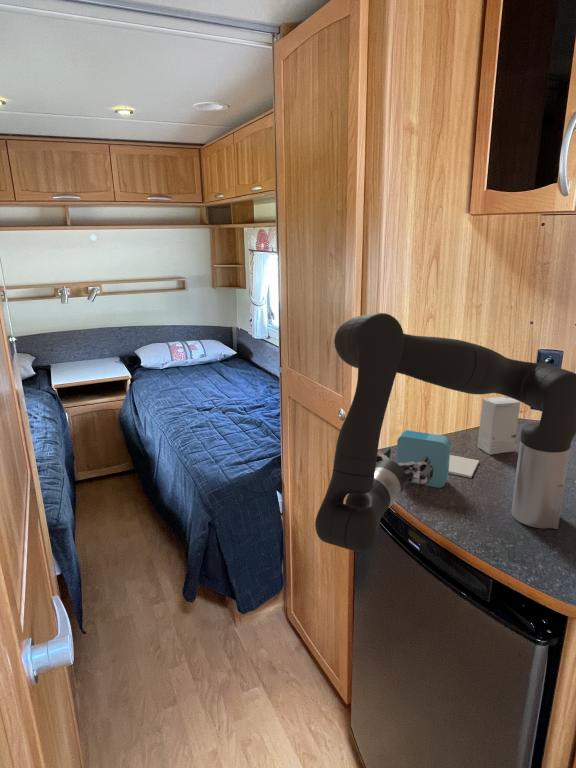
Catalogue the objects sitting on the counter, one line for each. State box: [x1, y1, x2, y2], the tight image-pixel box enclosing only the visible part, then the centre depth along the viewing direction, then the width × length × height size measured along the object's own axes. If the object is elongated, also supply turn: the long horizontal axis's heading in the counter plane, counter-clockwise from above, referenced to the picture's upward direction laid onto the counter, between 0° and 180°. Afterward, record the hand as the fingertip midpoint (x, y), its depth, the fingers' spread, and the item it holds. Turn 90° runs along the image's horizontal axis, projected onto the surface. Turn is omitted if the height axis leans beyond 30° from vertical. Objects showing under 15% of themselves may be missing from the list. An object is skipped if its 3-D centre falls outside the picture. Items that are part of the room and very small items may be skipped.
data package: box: [396, 429, 452, 489], centre depth 122 cm, size 12×4×12 cm, turn 63°
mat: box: [448, 454, 480, 479], centre depth 132 cm, size 14×10×1 cm
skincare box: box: [477, 396, 521, 456], centre depth 139 cm, size 8×6×15 cm
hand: (407, 455), depth 111 cm, fingers open, 8 cm apart
